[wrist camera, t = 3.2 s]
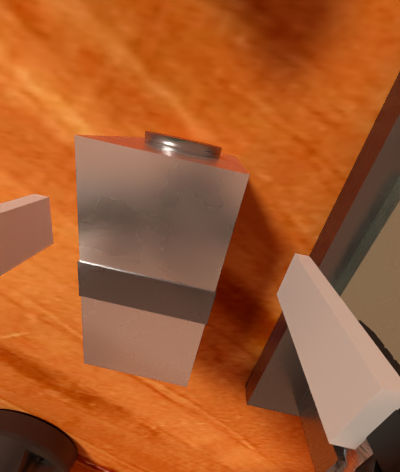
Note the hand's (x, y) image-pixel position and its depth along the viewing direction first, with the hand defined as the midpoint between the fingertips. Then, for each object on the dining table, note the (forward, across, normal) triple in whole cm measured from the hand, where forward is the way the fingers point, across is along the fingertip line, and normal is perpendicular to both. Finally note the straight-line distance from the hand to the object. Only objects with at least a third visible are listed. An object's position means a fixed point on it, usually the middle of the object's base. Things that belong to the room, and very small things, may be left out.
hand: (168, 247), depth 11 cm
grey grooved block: (+3, 0, 0) cm, 3 cm away
